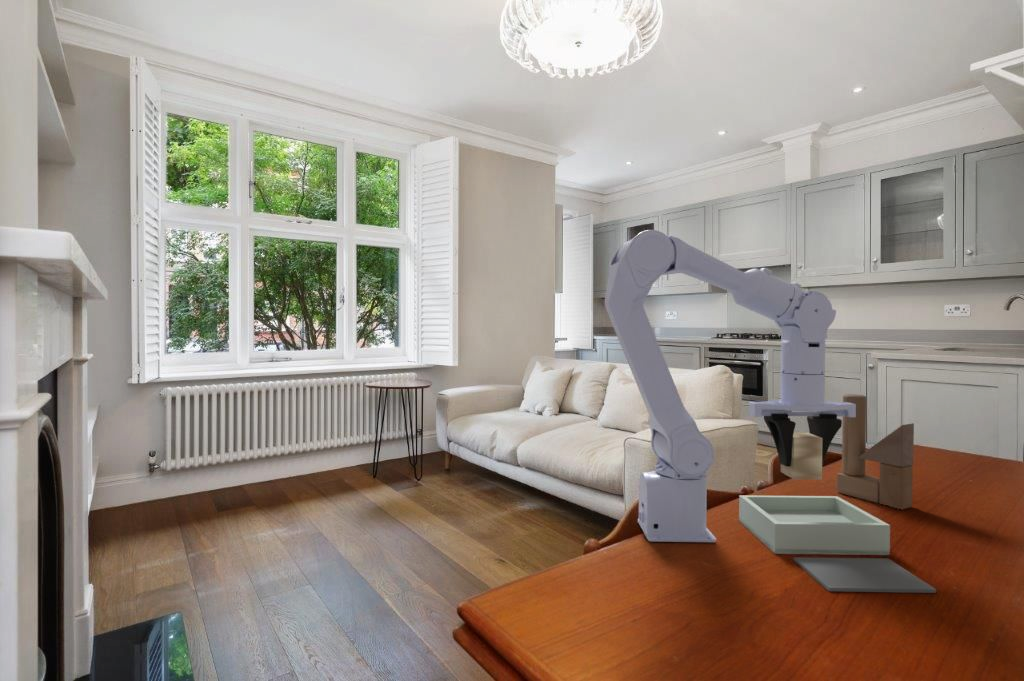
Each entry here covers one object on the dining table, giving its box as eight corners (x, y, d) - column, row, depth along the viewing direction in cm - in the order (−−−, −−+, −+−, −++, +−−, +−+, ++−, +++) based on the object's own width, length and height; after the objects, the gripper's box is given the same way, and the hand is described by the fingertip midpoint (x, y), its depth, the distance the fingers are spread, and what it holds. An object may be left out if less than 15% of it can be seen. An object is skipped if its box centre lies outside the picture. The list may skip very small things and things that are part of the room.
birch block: (793, 479, 76) (794, 437, 76) (780, 471, 80) (781, 432, 80) (821, 479, 76) (822, 438, 76) (807, 471, 80) (807, 432, 80)
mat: (828, 591, 60) (828, 587, 60) (793, 560, 68) (793, 557, 68) (936, 592, 60) (936, 589, 60) (888, 561, 68) (888, 558, 68)
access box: (774, 553, 70) (775, 523, 70) (738, 520, 82) (739, 495, 82) (889, 555, 70) (890, 525, 70) (836, 521, 82) (837, 496, 82)
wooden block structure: (901, 510, 87) (903, 401, 86) (835, 492, 96) (837, 394, 96) (913, 507, 89) (915, 400, 88) (847, 489, 98) (849, 393, 98)
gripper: (836, 371, 82) (835, 458, 82) (741, 370, 82) (740, 457, 82) (865, 375, 75) (863, 470, 75) (761, 374, 75) (760, 469, 75)
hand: (800, 464), depth 78 cm, fingers closed on birch block, 4 cm apart
